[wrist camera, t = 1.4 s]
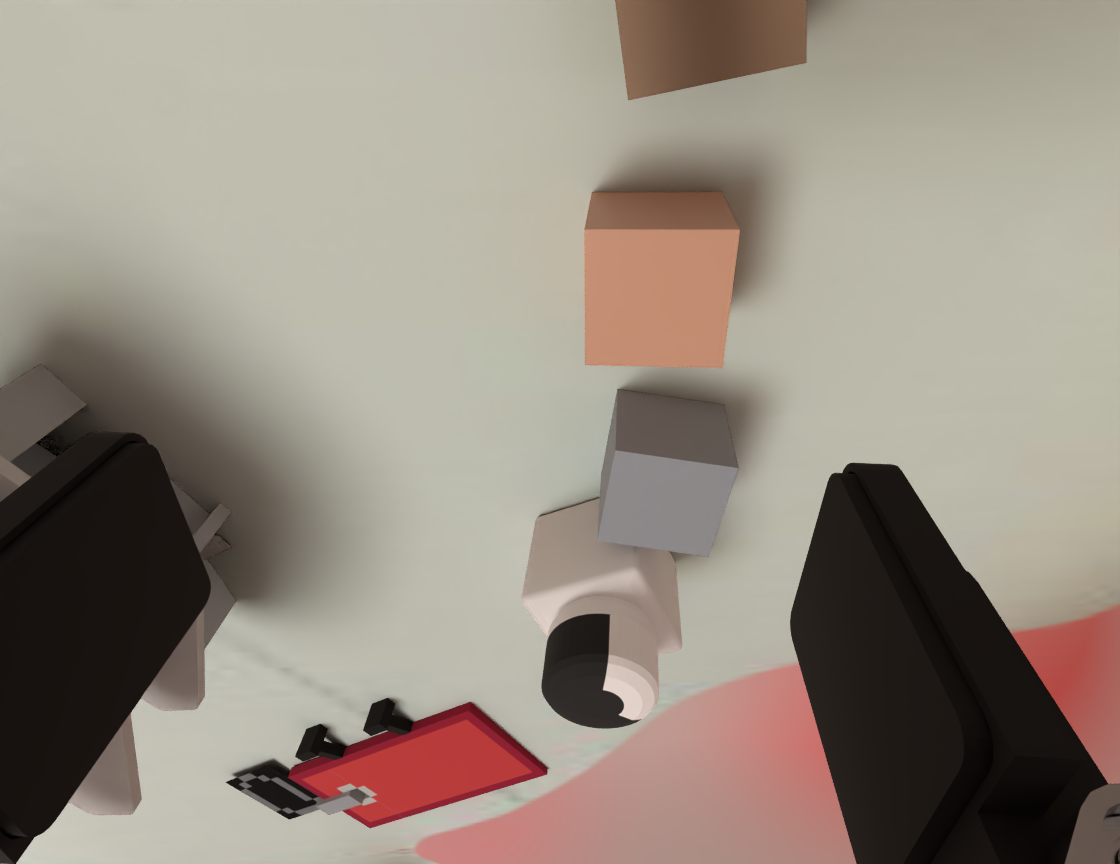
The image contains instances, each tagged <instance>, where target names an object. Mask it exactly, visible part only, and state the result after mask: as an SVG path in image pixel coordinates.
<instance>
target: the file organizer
mask: <svg viewBox="0 0 1120 864" xmlns="http://www.w3.org/2000/svg"><path fill="white" fill-rule="evenodd" d="M86 405H87V404H86V403H84V402H83V401H82V400H81V399H80V398H79V397H78V396H77V395H76V394H74V393H73V392H72V391H71V390H70V389H69V388H68V387H67V386H65V385H64V384H63V383H62V382H61V381H60V380H59V379H58V378H56V377H55V376H54V375H53V374H52V373H51V372H50V371H49V370H48V369H46V368H45V367H44V366H43V365H42V364H40V365H38V366H37V367H35V368H33V369H32V370H30V371H28V372H27V373H25V374H24V375H22V376H20V377H19V378H17V379H16V380H14V381H12V382H11V383H9V384H7V385H6V386H4V387H3V388H1V389H0V502H1V501H2V500H3V499H4V498H6V497H7V496H8V495H10V494H11V493H12V492H13V491H15V490H16V489H17V488H18V487H20V486H21V485H22V484H24V483H25V482H26V481H27V480H29V479H30V478H31V477H32V476H34V475H35V474H36V473H38V472H39V471H40V470H41V469H43V468H44V467H45V466H47V465H48V464H49V463H50V462H52V461H53V460H54V459H55V458H57V457H56V456H55V455H53V454H52V453H50V452H49V451H47V450H46V449H44V448H43V447H41V446H40V445H38V444H37V443H36V442H37V441H39V440H40V439H41V438H43V437H44V436H45V435H47V434H48V433H49V432H51V431H52V430H54V429H55V428H56V427H58V426H59V425H60V424H62V423H63V422H64V421H66V420H67V419H68V418H70V417H71V416H72V415H74V414H75V413H76V412H78V411H79V410H80V409H82V408H83V407H84V406H86ZM170 481H171V484H172V486H173V489H174V491H175V494H176V496H177V499H178V501H179V504H180V506H181V509H182V511H183V514H184V516H185V519H186V521H187V524H188V526H189V528H190V531H191V533H192V536H193V538H194V541H195V543H196V546H197V548H198V551H199V553H200V556H201V558H202V561H203V563H204V566H205V568H206V571H207V573H208V576H209V578H210V582H211V592H210V596H209V599H208V602H207V604H206V605H205V607H204V608H203V610H202V611H201V613H200V614H199V616H198V617H197V618H196V620H195V621H194V623H193V624H192V626H191V627H190V628H189V630H188V631H187V633H186V634H185V636H184V637H183V638H182V640H181V641H180V643H179V644H178V646H177V647H176V649H175V650H174V651H173V653H172V654H171V656H170V657H169V659H168V660H167V661H166V663H165V664H164V666H163V667H162V669H161V670H160V671H159V673H158V674H157V676H156V677H155V679H154V680H153V681H152V683H151V684H150V686H149V687H148V689H147V690H146V691H145V693H144V694H143V696H142V697H141V699H143V700H144V701H146V702H148V703H149V704H151V705H152V706H154V707H155V708H157V709H160V710H163V711H178V710H194V709H197V708H198V706H199V705H200V703H201V701H202V700H203V698H204V696H205V662H204V649H205V648H206V646H207V645H208V643H209V642H210V640H211V639H212V637H213V636H214V634H215V633H216V631H217V630H218V628H219V627H220V625H221V623H222V622H223V620H224V619H225V617H226V616H227V614H228V613H229V611H230V610H231V608H232V607H233V605H234V604H235V602H236V600H235V599H234V597H233V596H232V595H231V593H230V592H229V590H228V589H227V587H226V586H225V584H224V583H223V582H222V580H221V579H220V577H219V576H218V574H217V573H216V572H215V570H214V569H213V567H212V566H211V564H210V563H209V561H208V560H207V559H209V558H211V557H213V556H215V555H217V554H219V553H221V552H223V551H225V550H227V549H229V548H231V547H230V544H228V543H227V542H226V541H224V540H223V539H222V538H221V537H220V536H216V535H214V534H215V533H216V531H217V530H218V529H219V528H220V526H221V525H222V524H223V522H224V521H225V520H226V519H227V517H228V516H229V515H230V513H231V511H229V510H228V509H227V508H225V507H224V506H222V505H221V504H219V505H218V506H217V507H216V508H215V509H214V510H213V511H212V512H211V513H210V514H209V513H207V512H206V511H205V510H204V509H203V508H202V507H201V506H200V505H199V504H197V503H196V502H195V501H194V500H193V499H192V498H191V497H190V496H188V495H187V494H186V493H185V492H184V491H183V490H182V489H181V488H180V487H178V486H177V485H176V484H175V483H174V482H173V481H172V480H171V479H170ZM141 799H142V798H141V790H140V783H139V775H138V767H137V759H136V752H135V744H134V736H133V728H132V721H131V713H130V714H129V716H128V717H127V719H126V720H125V722H124V723H123V724H122V726H121V727H120V729H119V730H118V732H117V733H116V734H115V736H114V737H113V739H112V740H111V742H110V743H109V744H108V746H107V747H106V749H105V750H104V752H103V753H102V754H101V756H100V757H99V759H98V760H97V762H96V763H95V764H94V766H93V767H92V769H91V770H90V772H89V773H88V774H87V776H86V777H85V779H84V780H83V782H82V783H81V785H80V786H79V787H78V789H77V790H76V792H75V793H74V795H73V796H72V797H71V799H70V800H69V802H68V803H70V804H72V805H74V806H76V807H78V808H80V809H82V810H83V811H85V812H87V813H90V814H94V815H131V814H133V813H134V811H135V809H136V808H137V806H138V804H139V803H140V801H141ZM0 864H2V863H0Z"/></svg>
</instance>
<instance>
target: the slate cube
mask: <svg viewBox="0 0 1120 864" xmlns="http://www.w3.org/2000/svg"><path fill="white" fill-rule="evenodd" d="M738 469H739V468H738V463H737V459H736V455H735V450H734V446H733V442H732V437H731V433H730V429H729V424H728V420H727V416H726V411H725V407H724V405H723V404H716V403H709V402H702V401H695V400H688V399H681V398H674V397H667V396H660V395H654V394H647V393H640V392H633V391H626V390H619V389H617V394H616V399H615V405H614V410H613V415H612V420H611V426H610V431H609V436H608V442H607V447H606V452H605V457H604V463H603V468H602V473H601V489H600V505H599V521H598V537H597V541H604V542H611V543H618V544H624V545H631V546H638V547H645V548H652V549H658V550H665V551H672V552H679V553H685V554H692V555H699V556H706V557H709V554H710V551H711V548H712V545H713V542H714V539H715V536H716V533H717V531H718V528H719V525H720V522H721V519H722V516H723V513H724V510H725V507H726V504H727V501H728V498H729V495H730V492H731V489H732V486H733V483H734V481H735V478H736V475H737V472H738Z"/></svg>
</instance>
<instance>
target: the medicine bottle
mask: <svg viewBox="0 0 1120 864" xmlns="http://www.w3.org/2000/svg"><path fill="white" fill-rule="evenodd" d="M599 505H600V498H599V499H595V500H592V501H589V502H586V503H582V504H579V505H576V506H573V507H570V508H566V509H563V510H560V511H557V512H553V513H550V514H547V515H544V516H540V517H538V518H537V519H536V521H535V526H534V531H533V537H532V542H531V548H530V553H529V559H528V564H527V570H526V575H525V581H524V586H523V592H522V597H521V598H522V602H523V604H524V605H525V607H526V608H527V609H528V611H529V612H530V614H531V615H532V616H533V618H534V619H535V621H536V622H537V624H538V625H539V626H540V628H541V629H542V631H543V632H544V633H545V635H546V636H547V638H548V639H547V647H546V654H545V662H544V670H543V677H542V686H541V687H542V693H543V695H544V697H545V699H546V701H547V702H548V704H549V705H550V706H551V707H552V709H553V710H554V711H555V712H556V713H558V714H559V715H560V716H562V717H563V718H565V719H567V720H569V721H571V722H573V723H576V724H579V725H582V726H587V727H592V728H618V727H624V726H627V725H631V724H633V723H636V722H638V721H639V720H641V719H643V718H644V717H645V716H646V715H647V714H648V713H649V712H650V711H651V710H652V709H653V708H654V707H655V705H656V704H657V701H658V699H659V676H658V655H661V654H665V653H670V652H674V651H678V650H680V649H681V648H682V637H681V624H680V612H679V599H678V587H677V575H676V563H675V561H674V559H673V557H672V555H671V553H670V551H665V550H658V549H652V548H645V547H638V546H631V545H624V544H618V543H611V542H604V541H597V537H598V521H599Z"/></svg>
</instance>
